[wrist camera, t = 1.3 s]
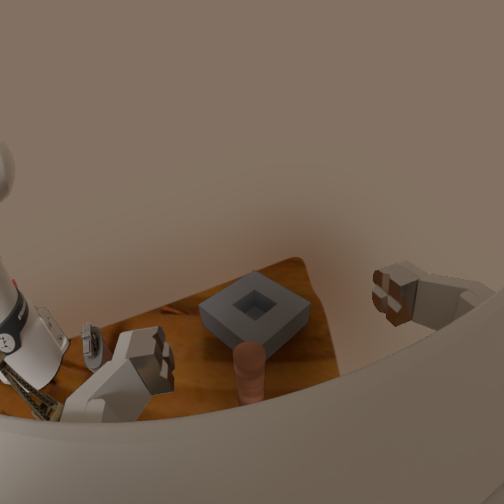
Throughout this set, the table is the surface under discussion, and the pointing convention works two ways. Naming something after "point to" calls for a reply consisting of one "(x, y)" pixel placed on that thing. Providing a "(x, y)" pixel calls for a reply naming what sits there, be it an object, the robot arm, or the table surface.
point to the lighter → (94, 348)
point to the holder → (255, 313)
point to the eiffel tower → (46, 403)
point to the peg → (249, 372)
